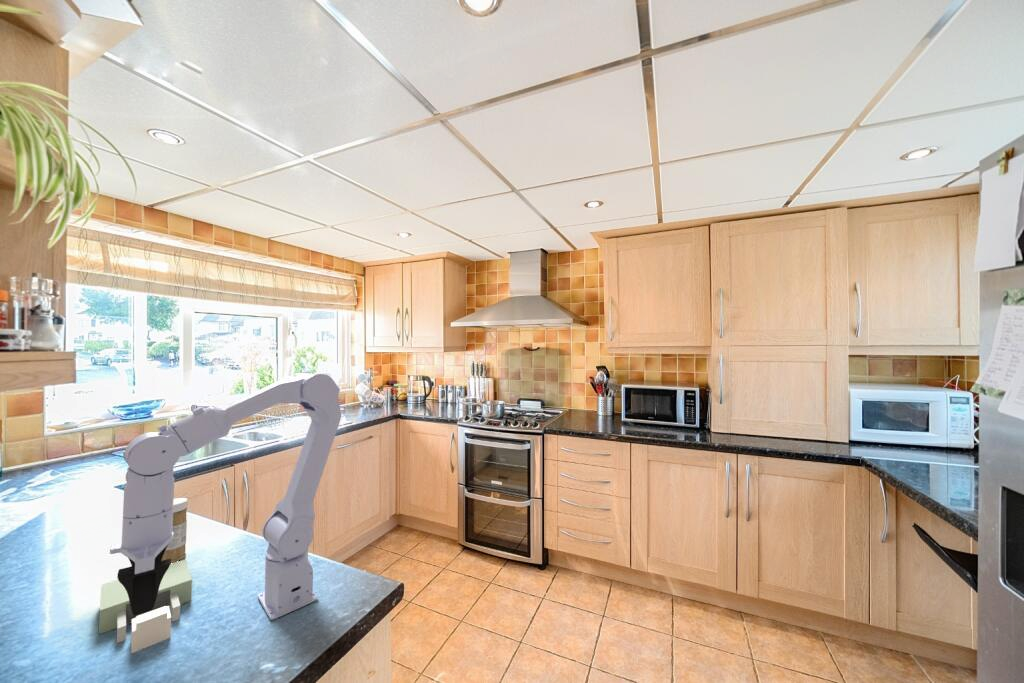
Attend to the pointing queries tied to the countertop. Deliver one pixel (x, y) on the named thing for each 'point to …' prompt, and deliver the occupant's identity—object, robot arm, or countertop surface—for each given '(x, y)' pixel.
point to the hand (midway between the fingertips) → (144, 598)
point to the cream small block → (150, 628)
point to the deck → (170, 594)
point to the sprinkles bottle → (177, 532)
